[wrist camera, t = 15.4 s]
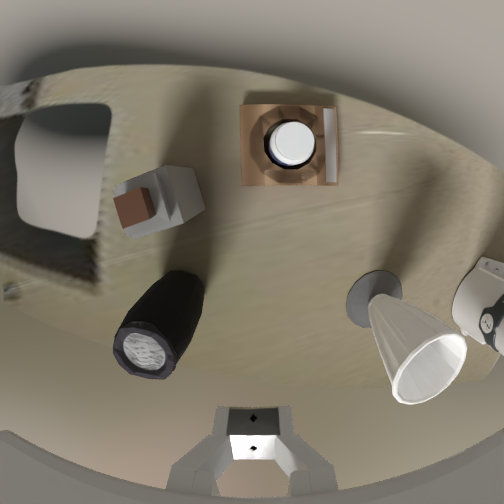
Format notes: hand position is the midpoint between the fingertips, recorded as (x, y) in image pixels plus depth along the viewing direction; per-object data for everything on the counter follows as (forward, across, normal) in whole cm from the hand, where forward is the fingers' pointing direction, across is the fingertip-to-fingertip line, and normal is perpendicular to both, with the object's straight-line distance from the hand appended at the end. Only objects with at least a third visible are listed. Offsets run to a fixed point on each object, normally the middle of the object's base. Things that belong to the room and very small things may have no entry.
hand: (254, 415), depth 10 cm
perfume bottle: (+35, +12, -7) cm, 38 cm away
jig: (+35, -5, -14) cm, 38 cm away
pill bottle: (+35, -5, -14) cm, 38 cm away
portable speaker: (+35, +13, +9) cm, 39 cm away
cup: (+35, -21, +12) cm, 43 cm away
